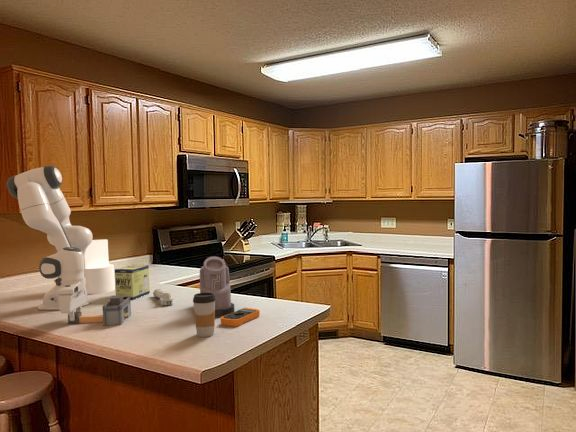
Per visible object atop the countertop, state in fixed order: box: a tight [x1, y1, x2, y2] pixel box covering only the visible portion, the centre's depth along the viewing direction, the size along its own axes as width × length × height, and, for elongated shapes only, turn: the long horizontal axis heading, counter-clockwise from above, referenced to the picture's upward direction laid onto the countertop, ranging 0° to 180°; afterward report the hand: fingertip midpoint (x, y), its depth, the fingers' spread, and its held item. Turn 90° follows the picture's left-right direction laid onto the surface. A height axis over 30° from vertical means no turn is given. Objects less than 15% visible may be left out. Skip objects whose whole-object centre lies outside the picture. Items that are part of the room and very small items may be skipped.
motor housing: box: [102, 295, 132, 327], centre depth 190 cm, size 7×15×10 cm, turn 4°
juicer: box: [199, 256, 235, 319], centre depth 203 cm, size 30×16×24 cm, turn 15°
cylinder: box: [84, 238, 116, 295], centre depth 252 cm, size 17×17×28 cm
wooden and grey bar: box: [67, 309, 128, 325], centre depth 189 cm, size 24×4×4 cm, turn 94°
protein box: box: [114, 264, 151, 301], centre depth 235 cm, size 10×16×16 cm
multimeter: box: [220, 307, 261, 328], centre depth 185 cm, size 9×18×3 cm, turn 150°
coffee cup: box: [192, 292, 216, 338], centre depth 167 cm, size 8×8×15 cm
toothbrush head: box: [152, 288, 174, 306], centre depth 223 cm, size 5×7×25 cm
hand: (75, 318), depth 189 cm, fingers closed on wooden and grey bar, 4 cm apart
